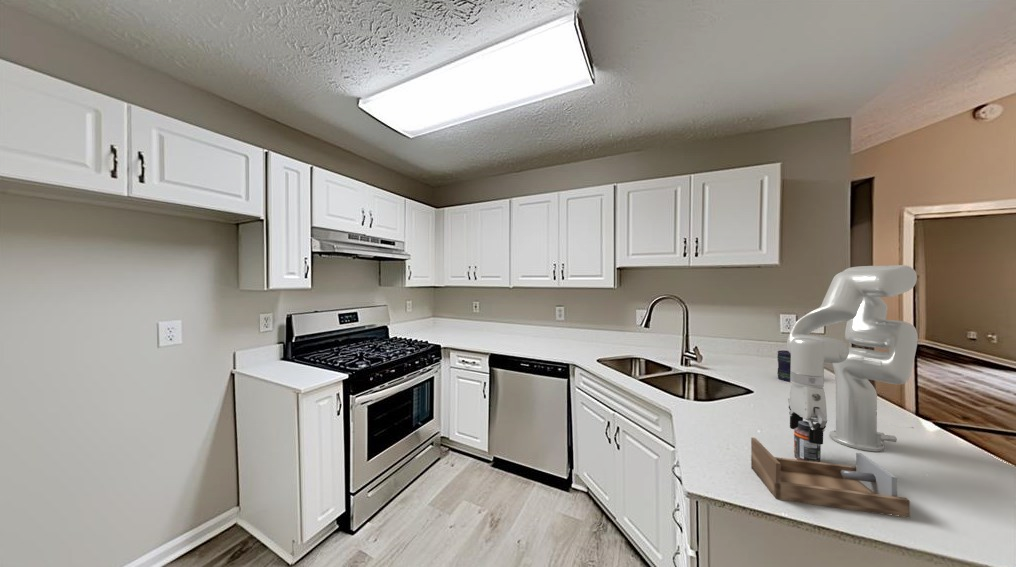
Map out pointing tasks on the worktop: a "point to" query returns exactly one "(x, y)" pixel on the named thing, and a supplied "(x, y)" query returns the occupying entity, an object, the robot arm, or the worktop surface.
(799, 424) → the supplement bottle
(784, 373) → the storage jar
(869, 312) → the robot arm
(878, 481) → the pusher plate
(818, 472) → the pusher lane
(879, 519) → the worktop surface
